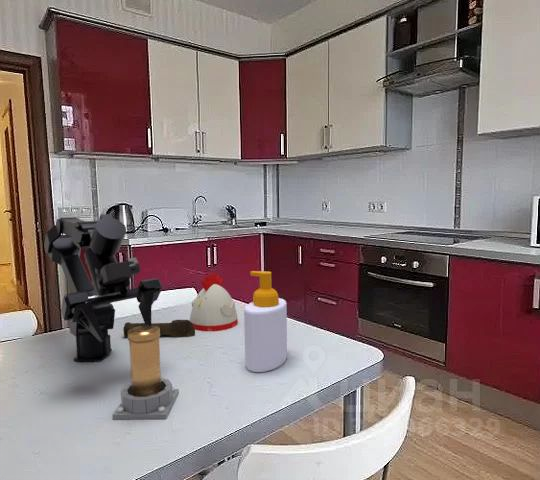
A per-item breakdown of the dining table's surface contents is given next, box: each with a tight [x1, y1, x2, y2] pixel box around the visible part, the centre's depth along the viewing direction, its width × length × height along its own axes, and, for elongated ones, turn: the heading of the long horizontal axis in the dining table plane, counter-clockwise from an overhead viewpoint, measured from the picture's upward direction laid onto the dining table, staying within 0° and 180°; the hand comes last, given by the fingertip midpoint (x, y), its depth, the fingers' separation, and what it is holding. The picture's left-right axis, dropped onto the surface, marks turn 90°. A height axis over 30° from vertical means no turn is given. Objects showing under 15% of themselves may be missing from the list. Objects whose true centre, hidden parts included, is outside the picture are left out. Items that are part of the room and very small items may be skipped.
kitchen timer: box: [189, 272, 239, 332], centre depth 118 cm, size 14×14×15 cm
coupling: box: [127, 326, 162, 397], centre depth 71 cm, size 5×5×13 cm
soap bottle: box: [243, 270, 288, 373], centre depth 90 cm, size 13×8×20 cm, turn 154°
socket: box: [112, 377, 180, 420], centre depth 72 cm, size 9×9×3 cm
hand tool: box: [122, 319, 196, 338], centre depth 108 cm, size 19×4×5 cm, turn 85°
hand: (127, 334), depth 78 cm, fingers open, 9 cm apart
